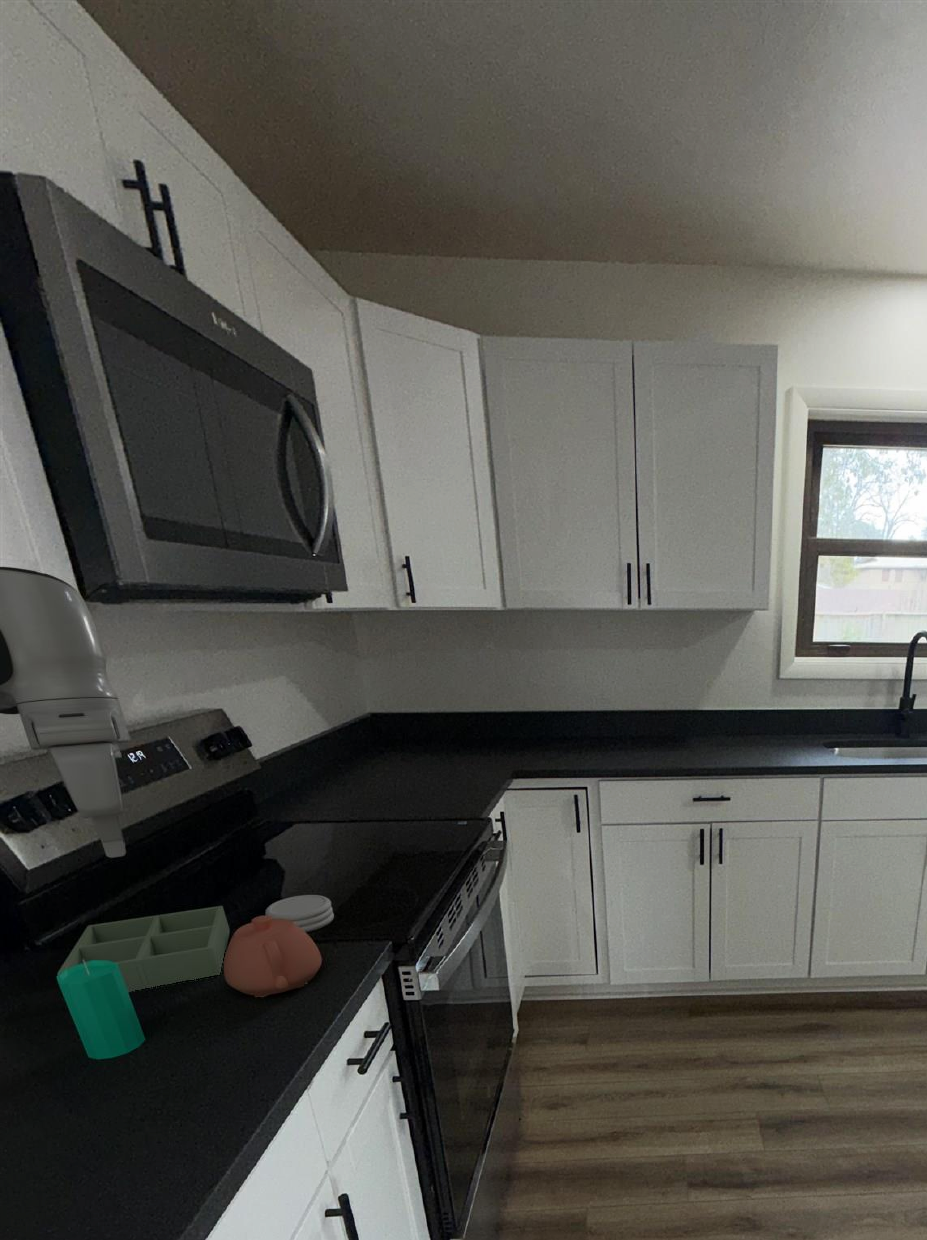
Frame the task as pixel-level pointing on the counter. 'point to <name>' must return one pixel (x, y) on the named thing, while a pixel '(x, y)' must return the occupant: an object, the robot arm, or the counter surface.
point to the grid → (158, 947)
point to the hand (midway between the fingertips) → (117, 853)
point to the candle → (101, 1008)
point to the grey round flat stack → (303, 911)
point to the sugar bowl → (270, 957)
